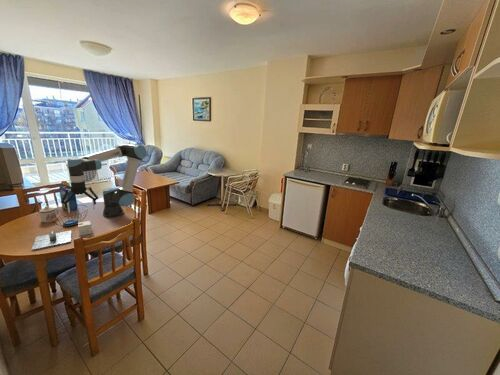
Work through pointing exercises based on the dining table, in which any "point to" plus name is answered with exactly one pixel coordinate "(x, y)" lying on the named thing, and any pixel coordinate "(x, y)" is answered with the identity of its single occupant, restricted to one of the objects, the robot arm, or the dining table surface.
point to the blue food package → (72, 201)
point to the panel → (52, 240)
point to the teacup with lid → (48, 214)
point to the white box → (84, 228)
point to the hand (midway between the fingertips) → (82, 210)
